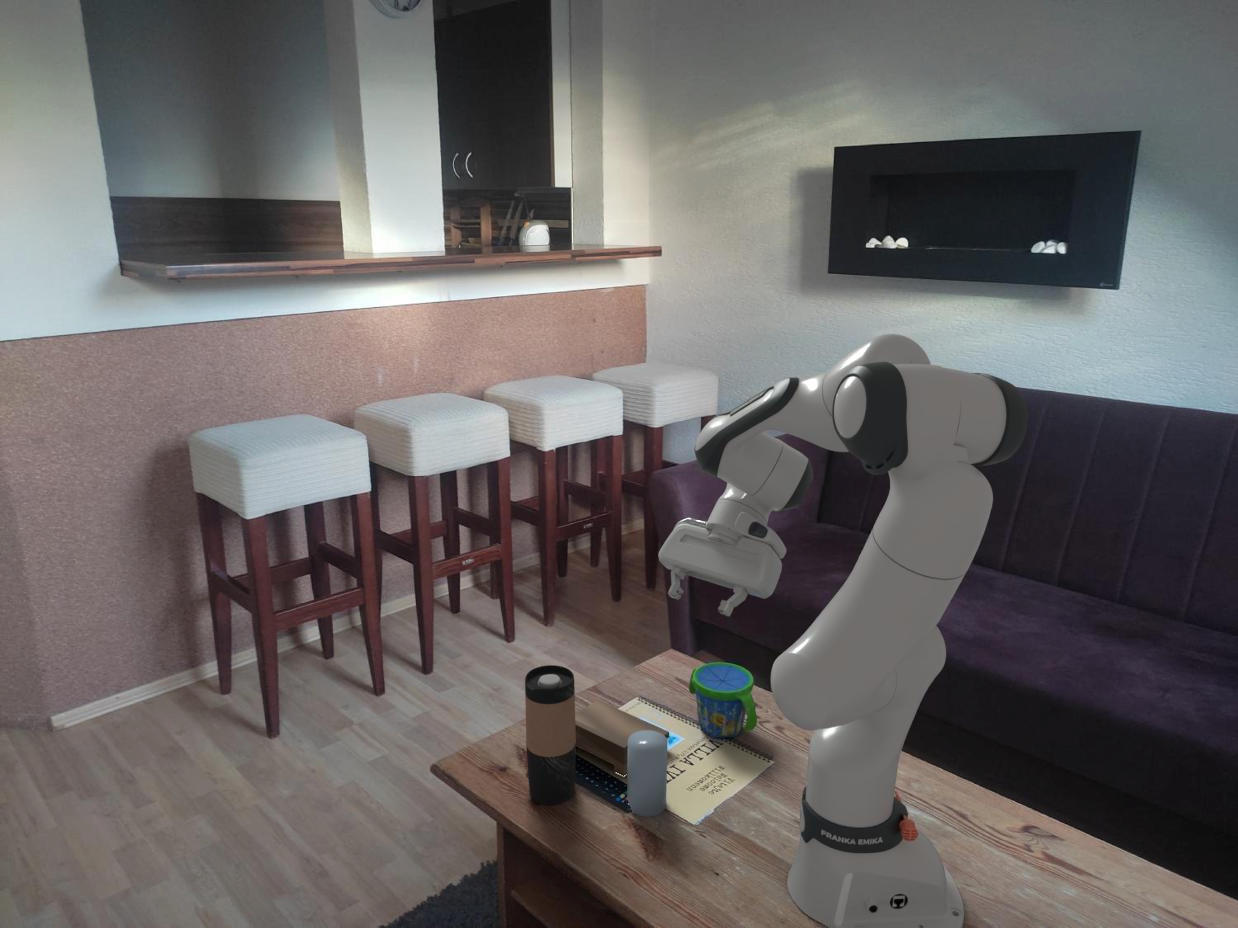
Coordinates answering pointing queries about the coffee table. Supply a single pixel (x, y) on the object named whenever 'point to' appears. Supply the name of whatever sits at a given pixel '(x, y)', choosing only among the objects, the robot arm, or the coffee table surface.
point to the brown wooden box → (609, 733)
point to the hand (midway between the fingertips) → (697, 605)
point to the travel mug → (550, 733)
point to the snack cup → (723, 698)
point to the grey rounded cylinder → (647, 773)
